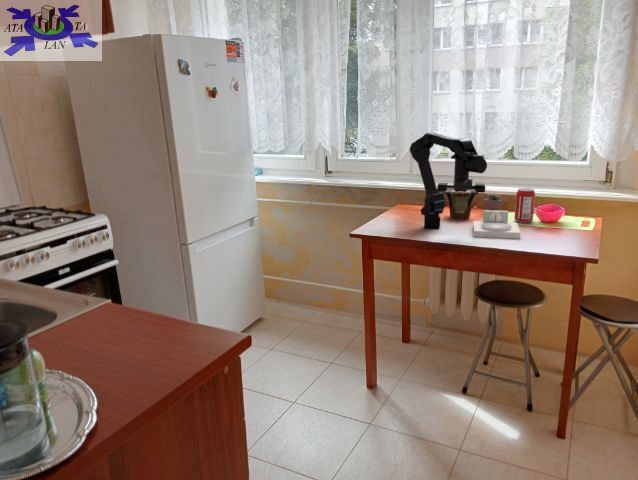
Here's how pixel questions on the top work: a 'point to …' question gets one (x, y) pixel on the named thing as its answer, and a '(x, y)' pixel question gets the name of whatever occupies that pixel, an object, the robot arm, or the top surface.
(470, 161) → the robot arm
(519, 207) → the soda can
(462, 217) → the muffin
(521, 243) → the top surface
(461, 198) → the ornate brown lamp shade
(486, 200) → the lighter
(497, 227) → the scale
